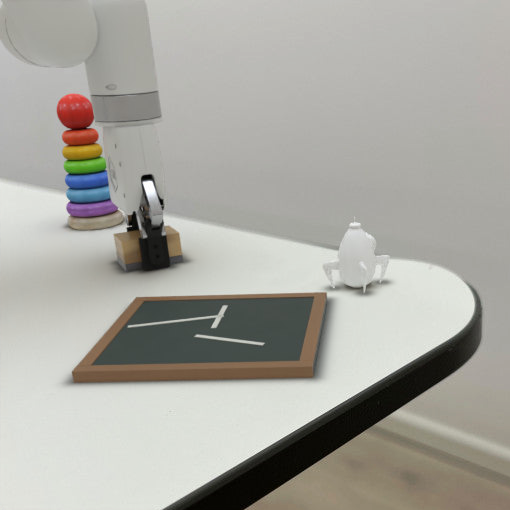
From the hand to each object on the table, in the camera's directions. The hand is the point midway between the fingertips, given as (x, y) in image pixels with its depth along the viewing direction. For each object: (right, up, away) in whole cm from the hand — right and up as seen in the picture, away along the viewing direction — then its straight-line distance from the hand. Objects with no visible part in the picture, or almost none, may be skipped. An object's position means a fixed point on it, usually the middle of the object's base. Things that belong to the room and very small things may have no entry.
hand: (150, 261), depth 95 cm
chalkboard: (+12, -10, -23) cm, 28 cm away
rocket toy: (+26, -5, -11) cm, 28 cm away
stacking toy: (-13, +8, +20) cm, 25 cm away
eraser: (0, 0, 0) cm, 0 cm away
